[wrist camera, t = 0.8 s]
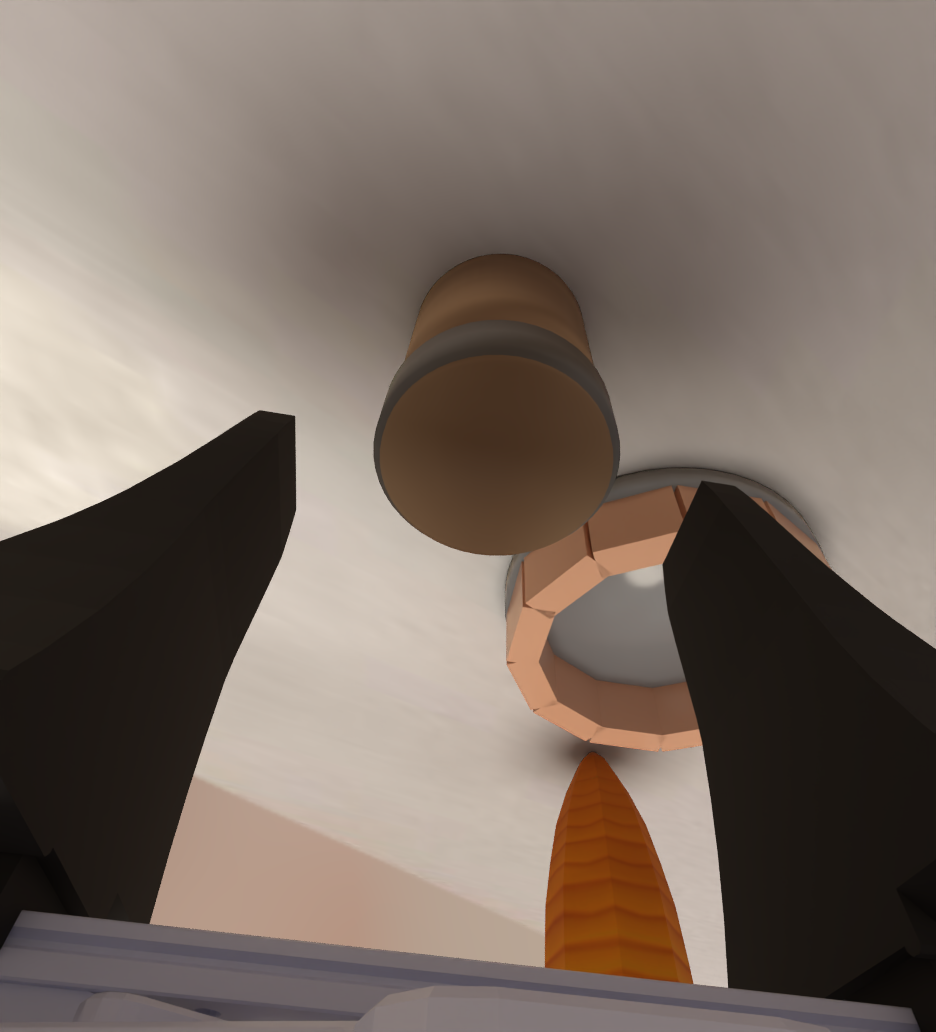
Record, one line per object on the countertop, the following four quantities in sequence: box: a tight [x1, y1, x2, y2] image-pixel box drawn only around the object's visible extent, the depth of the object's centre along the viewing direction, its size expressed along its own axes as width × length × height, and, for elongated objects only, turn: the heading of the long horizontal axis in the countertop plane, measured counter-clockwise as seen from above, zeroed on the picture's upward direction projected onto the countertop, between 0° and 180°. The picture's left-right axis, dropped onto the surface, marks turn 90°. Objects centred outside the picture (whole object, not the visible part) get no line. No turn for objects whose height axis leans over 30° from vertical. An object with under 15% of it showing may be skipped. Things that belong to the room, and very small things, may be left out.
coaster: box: [505, 468, 832, 752], centre depth 21 cm, size 10×10×3 cm
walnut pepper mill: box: [374, 254, 620, 555], centre depth 15 cm, size 5×5×6 cm
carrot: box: [545, 752, 693, 984], centre depth 23 cm, size 5×5×15 cm
